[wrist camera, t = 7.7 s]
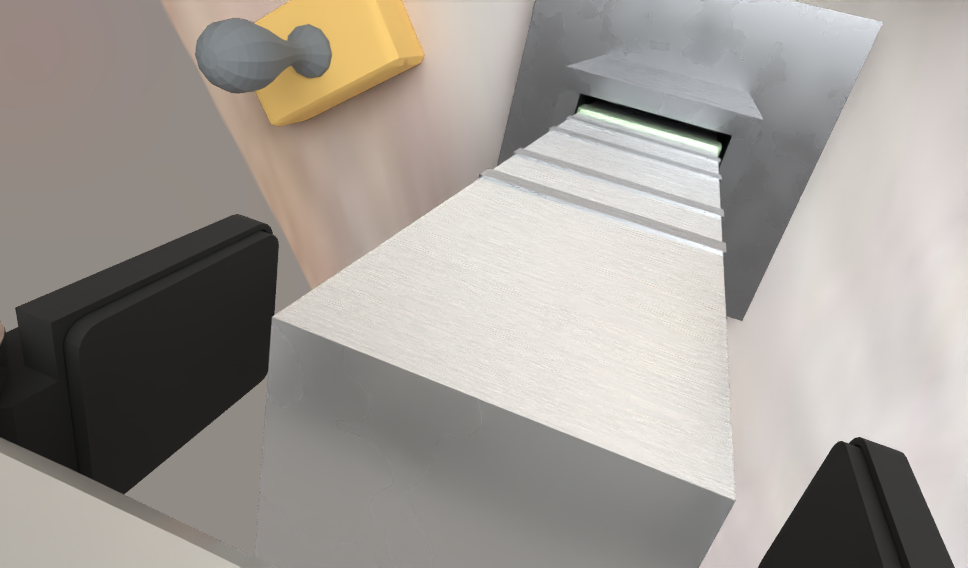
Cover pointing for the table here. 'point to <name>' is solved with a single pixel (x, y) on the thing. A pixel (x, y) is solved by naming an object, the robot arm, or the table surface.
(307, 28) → the rubber stamp
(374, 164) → the table surface
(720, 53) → the jack stand base
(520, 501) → the block
